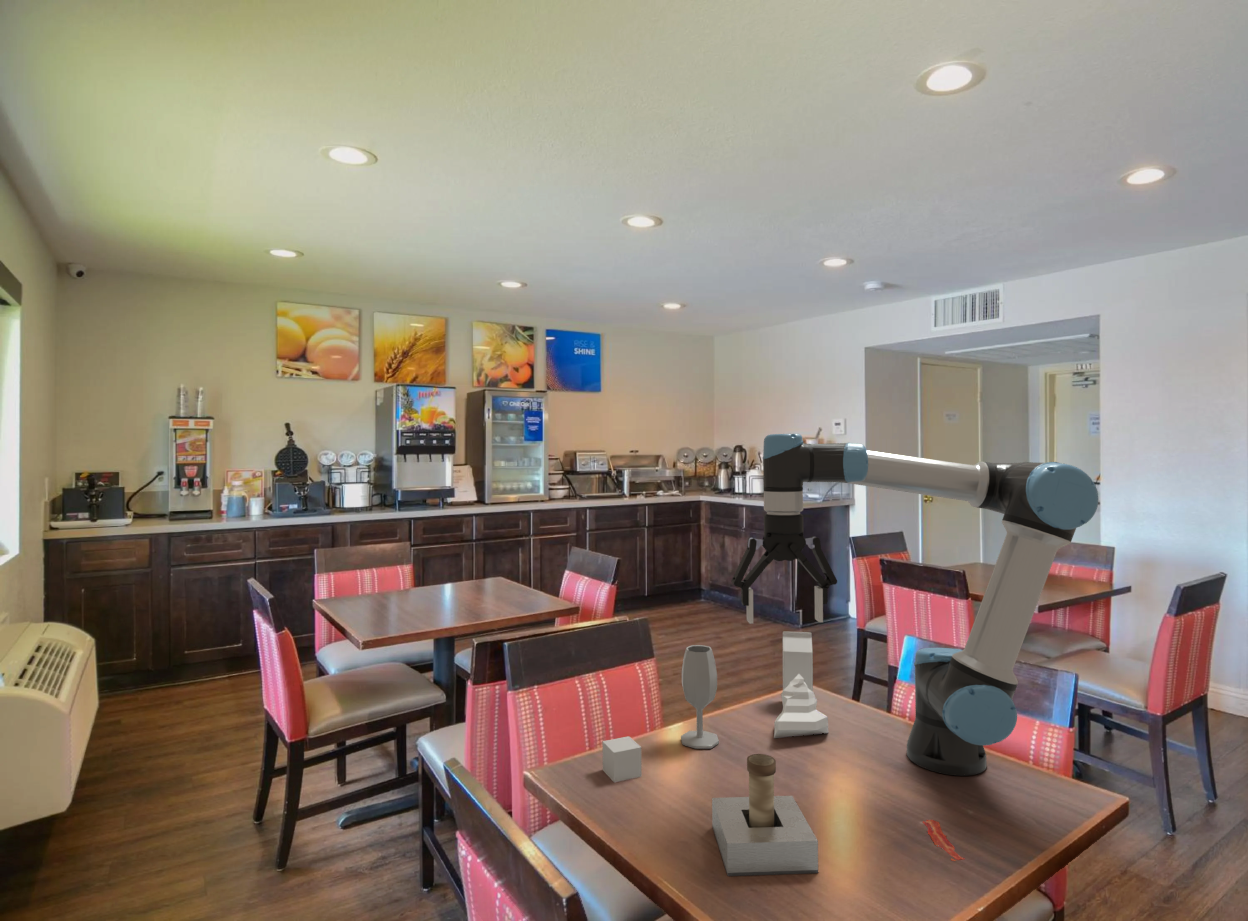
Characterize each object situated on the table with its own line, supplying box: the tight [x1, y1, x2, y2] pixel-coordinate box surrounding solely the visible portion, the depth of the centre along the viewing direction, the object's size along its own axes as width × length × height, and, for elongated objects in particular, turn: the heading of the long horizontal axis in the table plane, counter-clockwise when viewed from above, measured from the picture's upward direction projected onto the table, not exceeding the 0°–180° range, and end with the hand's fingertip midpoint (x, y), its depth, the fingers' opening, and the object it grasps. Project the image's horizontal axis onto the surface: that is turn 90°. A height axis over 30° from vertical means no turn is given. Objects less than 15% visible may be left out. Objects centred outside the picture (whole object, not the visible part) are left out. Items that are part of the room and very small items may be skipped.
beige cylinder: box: [746, 753, 777, 828], centre depth 112 cm, size 5×5×14 cm
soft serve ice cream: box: [773, 674, 829, 739], centre depth 159 cm, size 12×15×14 cm
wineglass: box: [680, 644, 720, 750], centre depth 154 cm, size 9×9×21 cm
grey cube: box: [602, 735, 642, 783], centre depth 139 cm, size 6×6×6 cm
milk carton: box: [782, 631, 814, 692], centre depth 175 cm, size 7×7×19 cm
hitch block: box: [711, 795, 819, 877], centre depth 112 cm, size 14×14×5 cm
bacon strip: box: [922, 812, 966, 862], centre depth 116 cm, size 4×15×1 cm, turn 179°
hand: (784, 621), depth 134 cm, fingers open, 13 cm apart
